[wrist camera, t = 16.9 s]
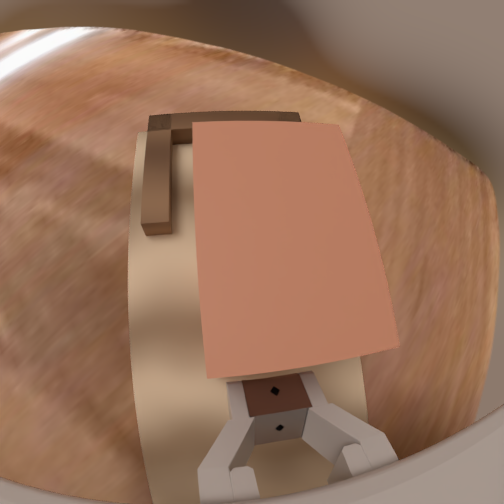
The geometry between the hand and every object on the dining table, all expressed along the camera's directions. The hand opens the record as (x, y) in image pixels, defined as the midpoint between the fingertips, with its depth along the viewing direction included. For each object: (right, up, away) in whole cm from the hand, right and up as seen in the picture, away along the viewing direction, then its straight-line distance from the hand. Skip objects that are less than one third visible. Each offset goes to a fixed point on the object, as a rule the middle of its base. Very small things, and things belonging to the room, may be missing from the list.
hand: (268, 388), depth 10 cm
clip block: (-1, +2, +6) cm, 6 cm away
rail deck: (-1, 0, +7) cm, 7 cm away
